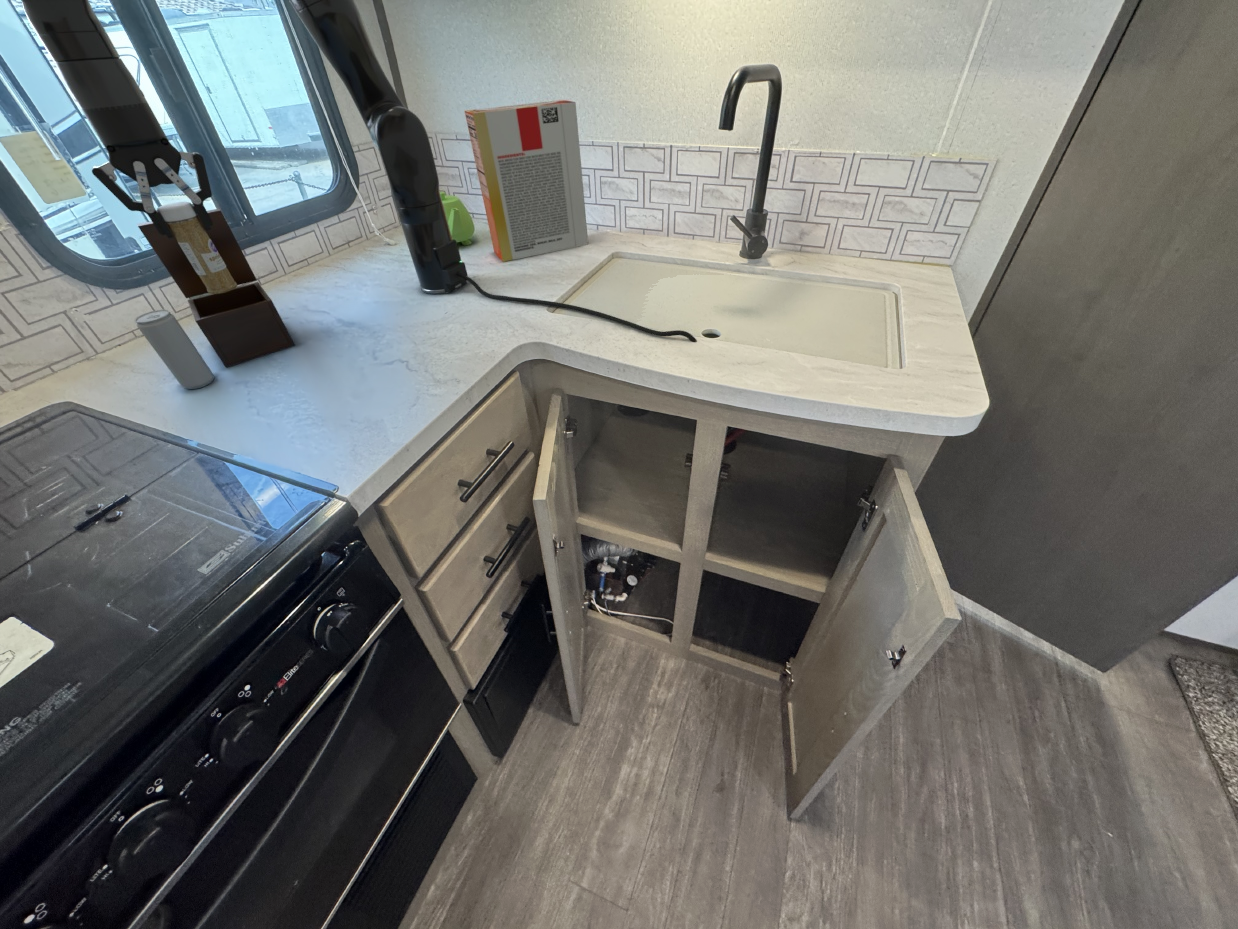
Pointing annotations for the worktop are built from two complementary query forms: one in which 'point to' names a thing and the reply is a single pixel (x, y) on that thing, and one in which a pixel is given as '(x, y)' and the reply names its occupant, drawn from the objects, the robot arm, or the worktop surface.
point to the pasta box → (530, 177)
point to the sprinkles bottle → (197, 246)
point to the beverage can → (175, 348)
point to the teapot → (458, 219)
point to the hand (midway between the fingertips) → (189, 232)
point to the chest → (241, 324)
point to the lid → (181, 265)
